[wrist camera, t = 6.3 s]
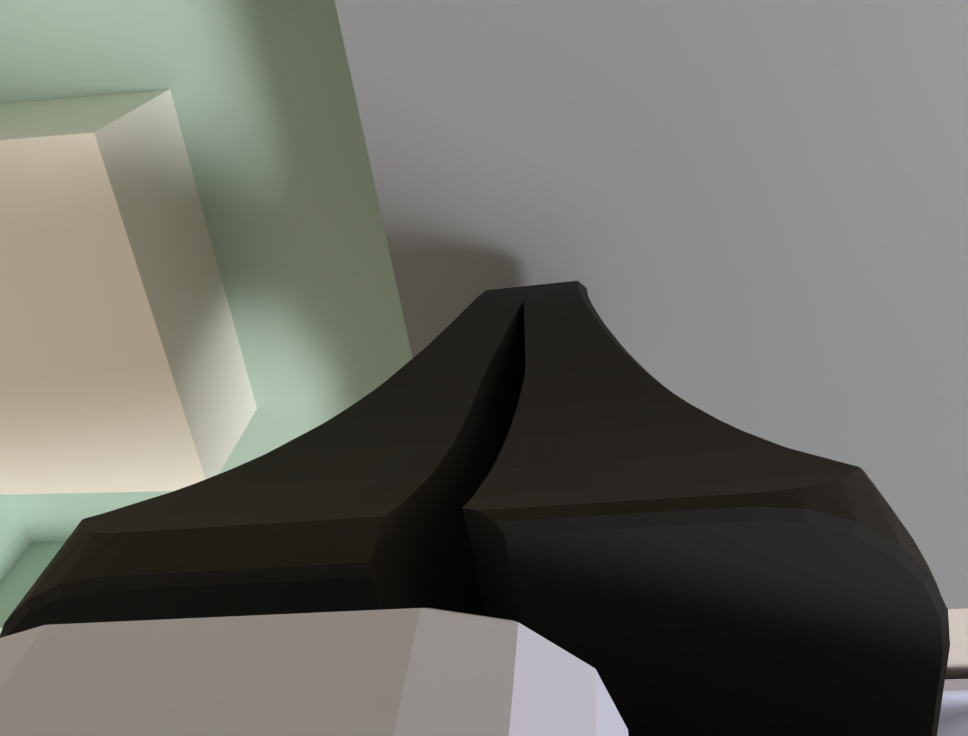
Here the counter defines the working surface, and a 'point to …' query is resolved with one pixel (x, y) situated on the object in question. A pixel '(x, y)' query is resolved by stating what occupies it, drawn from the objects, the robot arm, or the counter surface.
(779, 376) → the bench plate
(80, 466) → the tile
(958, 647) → the counter surface
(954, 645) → the counter surface
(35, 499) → the bin
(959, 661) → the counter surface
